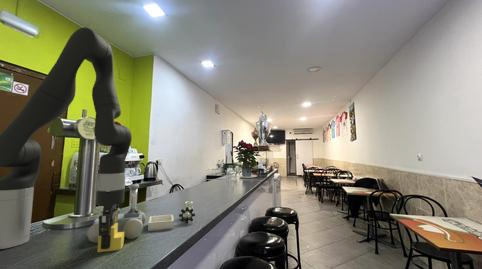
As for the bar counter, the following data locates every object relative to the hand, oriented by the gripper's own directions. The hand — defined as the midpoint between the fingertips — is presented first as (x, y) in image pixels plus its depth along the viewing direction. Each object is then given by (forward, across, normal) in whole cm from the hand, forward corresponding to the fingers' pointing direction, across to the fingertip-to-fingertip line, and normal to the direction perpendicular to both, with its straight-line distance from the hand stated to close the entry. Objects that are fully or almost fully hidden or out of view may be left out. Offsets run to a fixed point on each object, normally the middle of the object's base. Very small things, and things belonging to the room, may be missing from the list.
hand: (107, 244), depth 65 cm
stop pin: (-5, -12, +5) cm, 14 cm away
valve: (+1, -22, +26) cm, 34 cm away
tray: (+1, -16, +15) cm, 22 cm away
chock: (+1, 0, +1) cm, 1 cm away
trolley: (+1, -12, +1) cm, 12 cm away
